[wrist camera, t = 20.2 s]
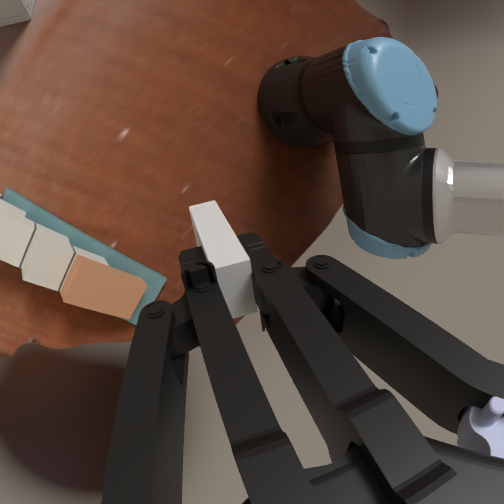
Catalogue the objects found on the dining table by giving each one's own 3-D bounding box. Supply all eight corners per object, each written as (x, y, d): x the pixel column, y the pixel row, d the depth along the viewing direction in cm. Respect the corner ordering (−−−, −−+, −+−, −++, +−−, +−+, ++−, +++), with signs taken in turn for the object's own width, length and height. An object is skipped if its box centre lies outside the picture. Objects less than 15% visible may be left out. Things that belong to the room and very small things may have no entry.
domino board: (166, 277, 48) (166, 279, 47) (139, 324, 48) (139, 326, 47) (8, 187, 35) (6, 188, 34) (-13, 242, 35) (-15, 243, 34)
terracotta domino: (147, 285, 44) (81, 262, 35) (129, 319, 44) (63, 302, 35) (141, 277, 45) (77, 253, 37) (123, 310, 45) (60, 292, 37)
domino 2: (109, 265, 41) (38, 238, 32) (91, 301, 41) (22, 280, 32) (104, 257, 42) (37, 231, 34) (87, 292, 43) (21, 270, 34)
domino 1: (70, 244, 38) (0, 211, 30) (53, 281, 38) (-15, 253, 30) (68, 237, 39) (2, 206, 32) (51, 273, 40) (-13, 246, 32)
